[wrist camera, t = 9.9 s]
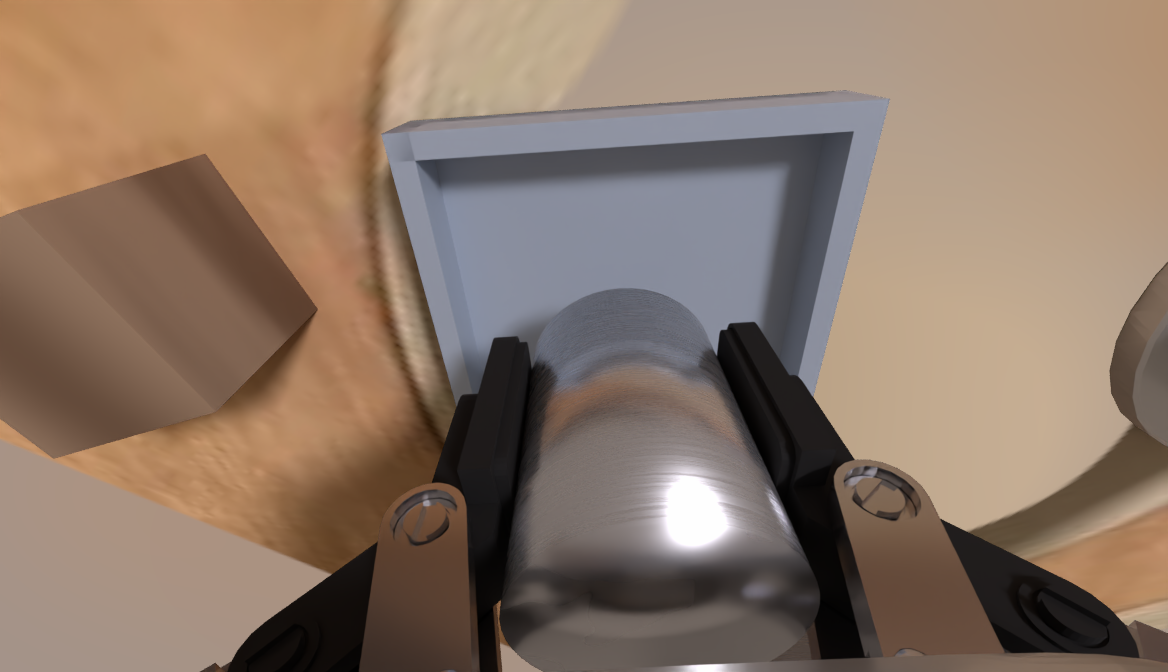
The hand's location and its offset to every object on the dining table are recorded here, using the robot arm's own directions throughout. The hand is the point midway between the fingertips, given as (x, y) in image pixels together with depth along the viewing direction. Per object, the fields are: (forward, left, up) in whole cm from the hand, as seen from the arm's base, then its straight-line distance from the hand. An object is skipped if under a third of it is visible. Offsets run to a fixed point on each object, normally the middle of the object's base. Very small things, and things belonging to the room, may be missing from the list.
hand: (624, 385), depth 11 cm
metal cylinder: (0, 0, -1) cm, 1 cm away
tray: (0, 0, -4) cm, 4 cm away
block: (+13, -2, -5) cm, 14 cm away
